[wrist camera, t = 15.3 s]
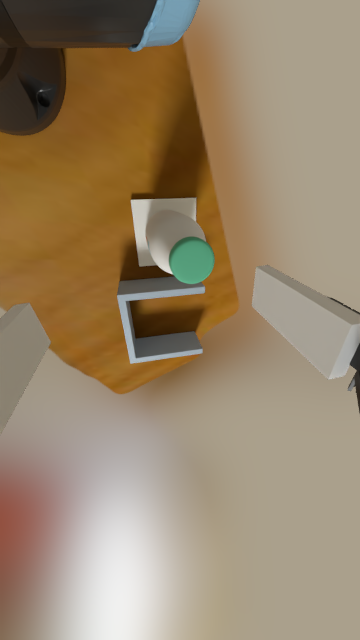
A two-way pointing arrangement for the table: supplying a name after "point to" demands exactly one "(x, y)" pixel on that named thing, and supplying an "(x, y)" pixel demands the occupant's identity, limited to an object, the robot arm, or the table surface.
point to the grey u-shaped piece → (164, 343)
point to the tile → (143, 213)
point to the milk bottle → (179, 246)
